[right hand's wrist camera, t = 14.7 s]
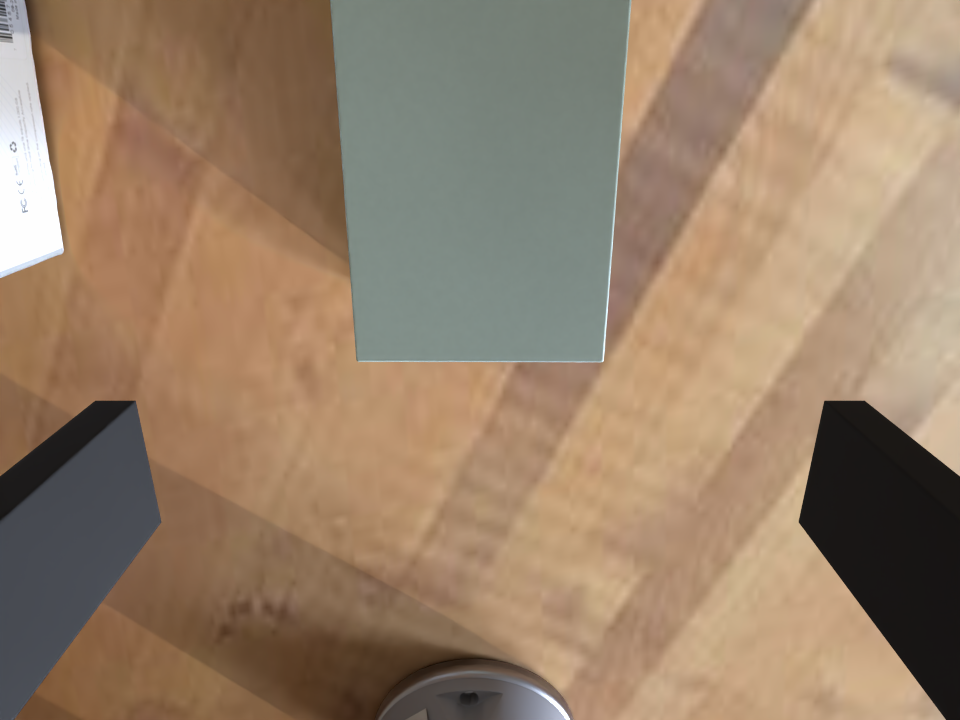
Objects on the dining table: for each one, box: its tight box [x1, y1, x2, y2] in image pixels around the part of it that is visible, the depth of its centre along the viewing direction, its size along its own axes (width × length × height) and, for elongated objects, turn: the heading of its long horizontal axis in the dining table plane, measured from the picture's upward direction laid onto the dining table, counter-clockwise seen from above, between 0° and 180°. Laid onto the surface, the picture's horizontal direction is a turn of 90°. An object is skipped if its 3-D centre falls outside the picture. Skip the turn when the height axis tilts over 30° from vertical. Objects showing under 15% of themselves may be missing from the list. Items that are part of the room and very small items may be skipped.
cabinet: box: [330, 0, 631, 362], centre depth 29 cm, size 20×11×10 cm, turn 0°
